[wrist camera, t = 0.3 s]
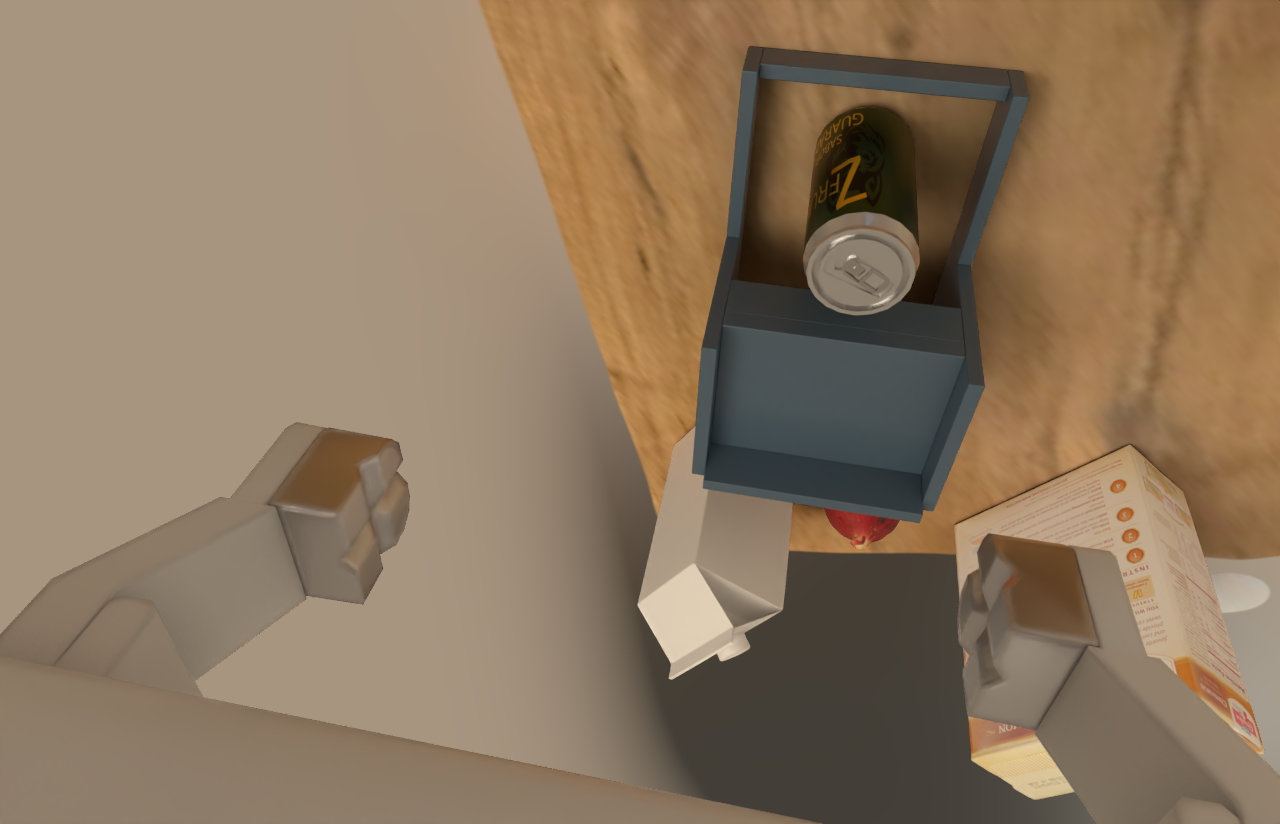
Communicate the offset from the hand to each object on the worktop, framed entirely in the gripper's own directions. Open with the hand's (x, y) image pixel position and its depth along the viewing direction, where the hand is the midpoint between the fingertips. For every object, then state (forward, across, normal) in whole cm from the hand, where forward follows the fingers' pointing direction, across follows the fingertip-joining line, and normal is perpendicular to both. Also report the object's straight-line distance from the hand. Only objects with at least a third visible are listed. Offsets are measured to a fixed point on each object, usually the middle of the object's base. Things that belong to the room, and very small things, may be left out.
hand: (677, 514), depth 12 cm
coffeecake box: (+43, -25, +38) cm, 63 cm away
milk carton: (+43, 0, +36) cm, 56 cm away
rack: (+40, -5, +15) cm, 44 cm away
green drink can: (+40, -5, +10) cm, 42 cm away
